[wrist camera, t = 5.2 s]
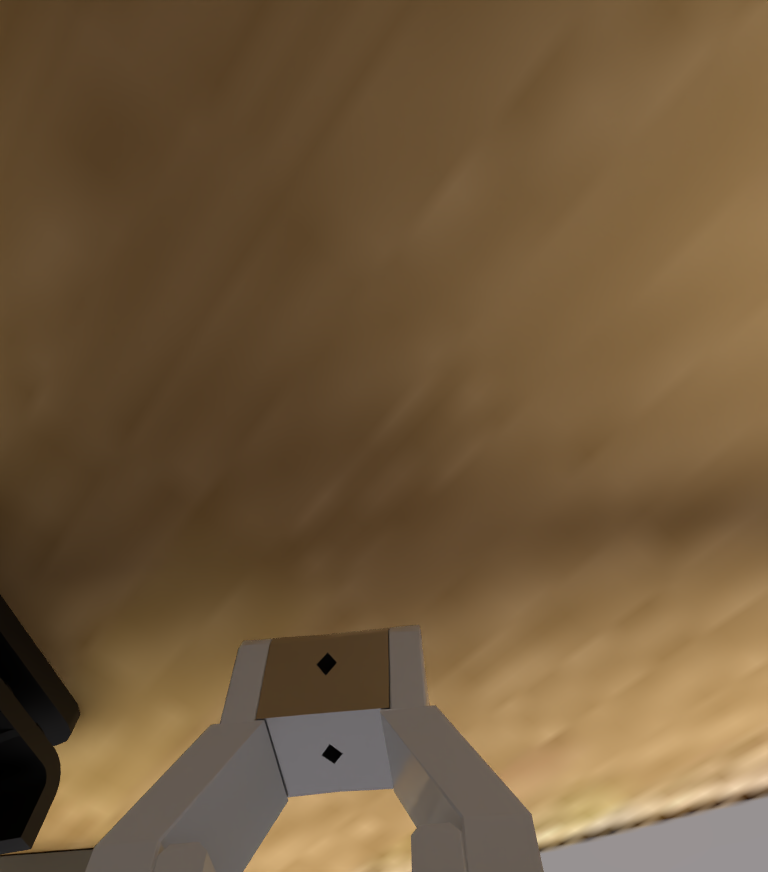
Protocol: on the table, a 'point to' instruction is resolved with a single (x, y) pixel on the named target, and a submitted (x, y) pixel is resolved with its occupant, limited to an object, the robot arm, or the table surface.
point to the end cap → (28, 734)
